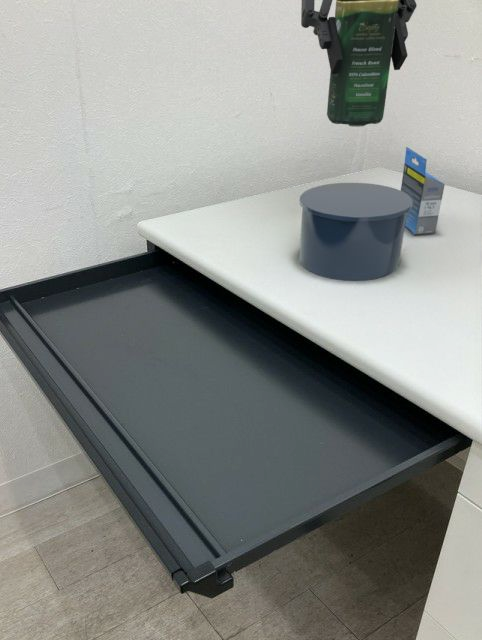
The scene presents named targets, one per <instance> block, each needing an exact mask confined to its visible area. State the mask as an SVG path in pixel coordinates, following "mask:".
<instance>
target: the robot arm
mask: <svg viewBox="0 0 482 640" xmlns="http://www.w3.org/2000/svg"><path fill="white" fill-rule="evenodd" d="M315 2H316V1H315V0H301V5H300V6H301V8H300V9H301V11H300V14H301V15H300V25H301V28H303V29H309V28H310V27H312V28H313V30H312V32H313V34H314V35H315V36H317V39H318V45H319V47H320V49H321V50H326V53H327V59H328V63H329V68H330V72H331V74H337V72H338V70H339V68H340V65H341V63H342V61H343V57H342V52H341V47H340V42H339V37H338V32H337V27H336V22H335V16H329V14H330V10H331V7H332V4H333V0H322V1H321V5H320V8H319V10H315ZM417 7H418V5H417V2H416V0H399V1H398V9H397V16H396V24H395V32H394V40H393V47H392V54H391V61H392V66H393V70H394V71H400V70H401V68H402V67H403V65H404V63H405V60H406V59H407V57H408V55H409V54H408V51H407V46H406V40H407V38H408V36H409V30H408V27H407V23H409V21H410V20H411V18H412V16H413V14H414V12H415V10H416V8H417Z"/></svg>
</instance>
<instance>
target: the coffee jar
mask: <svg viewBox="0 0 482 640" xmlns="http://www.w3.org/2000/svg"><path fill="white" fill-rule="evenodd" d="M398 1H399V0H336V1H335V11H334V17H335V22H336V27H337V32H338V37H339V42H340V47H341V52H342V57H343V61H342V63H341V65H340V68H339V70H338V72H337V74H331V71H329V72H330V73H329V84H328V95H327V107H326V108H327V109H326V116H327V118H328V120H329V122H331V123H332V124H334V125H340V124H341V125H347V126H349V127H365V126H367V125H377V124H380V123H381V122H382V120H383V119H384V115H385V108H386V99H387V91H388V84H389V83H388V82H389V75H390V68H391V61H392V58H391V54H392V47H393V40H394V32H395V24H396V16H397V9H398Z"/></svg>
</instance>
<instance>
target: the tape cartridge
mask: <svg viewBox="0 0 482 640" xmlns="http://www.w3.org/2000/svg"><path fill="white" fill-rule="evenodd" d="M413 160H415V161H416V162H417V163H418V164H416V163H414V162H413ZM427 161H428V159H427V158H425V157H423V156H422V155H420V154H419V153H418V152H416V151H414V150H412V149H411V148H410V147H408V146H406V147H405V155H404V165H403V171H402V178H401V185H400V191H403V192H405V193H406V194H408V195H409V196H410V197H411V198H412V201H413V203H412V208H411V209H410V210H409V211H408V212H407V218H406V224H405V228H407V229H408V230H409V231H410V232H411V233H412V234H413V235H414V236H417V235H432V234H436V231H437V226H438V220H439V216H440V210H441V205H442V201H443V200H442V199H443V195H444V190H445V187H446V186H445V183H444V182H442V181H441V180H439V179H437V178H436V177H434V176H433V175H431V174H430V173H429V172H427V171H426V170H427Z"/></svg>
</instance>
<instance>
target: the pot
mask: <svg viewBox="0 0 482 640" xmlns="http://www.w3.org/2000/svg"><path fill="white" fill-rule="evenodd" d="M298 201H299V205H300V207H301V208H302V209H301V223H300V224H301V225H300V240H299V241H300V243H299V259H298V260H299V263H300V264H301V266H302V267H303V268H304V269H305V270H307V272H308V271H309V273H312V274H314V275H317V276H320V277H323V278H327V279H331V280H336V281H337V280H338V281H345V282H346V281H348V282H361V281H362V282H363V281H373V280H378V279H383V278H385V277H387V276H389V275H391V274H394V273H395V272H396V271H397V270H398V269H399V266H400V262H401V261H400V260H401V255H402V250H403V242H404V237H405V231H406V226H405V224H406V218H407V212H408V211H409V210H410V209H411V208H412V203H413V201H412V198H411V197H410V196H409V195H408V194H406V193H405V192H403V191H401V189H398V188H395V187H392V186H387V185H382V184H375V183H365V182H335V183H327V184H322V185H317V186H314V187H311V188H308V189H306V190H305V191H303V192H301V194H300V196H299V200H298Z"/></svg>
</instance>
